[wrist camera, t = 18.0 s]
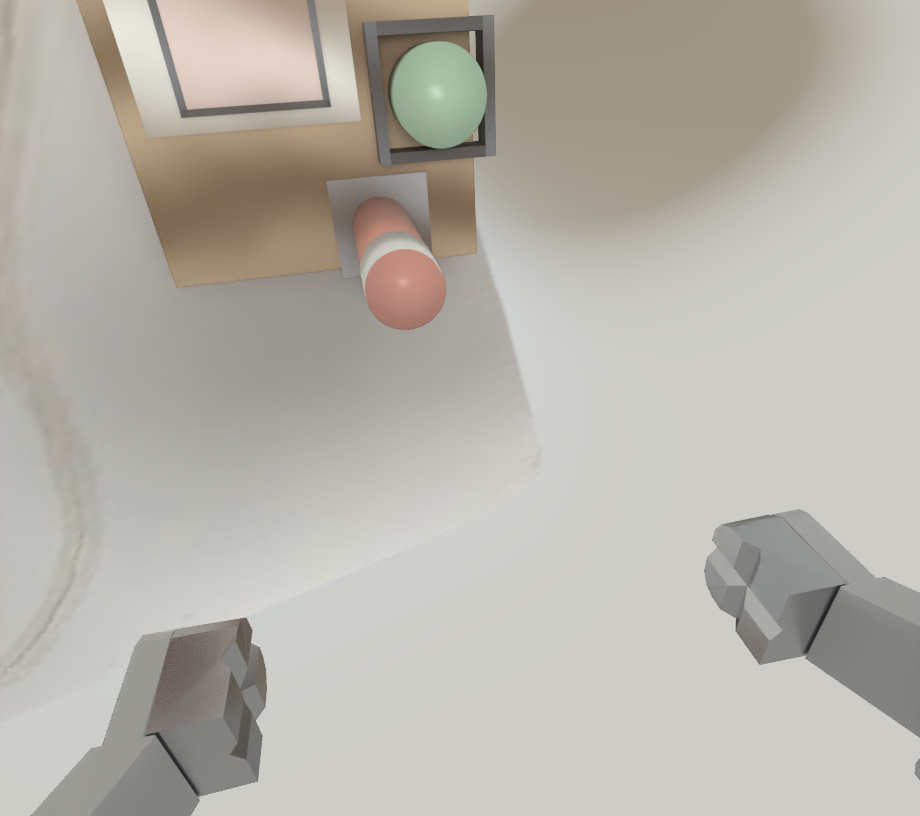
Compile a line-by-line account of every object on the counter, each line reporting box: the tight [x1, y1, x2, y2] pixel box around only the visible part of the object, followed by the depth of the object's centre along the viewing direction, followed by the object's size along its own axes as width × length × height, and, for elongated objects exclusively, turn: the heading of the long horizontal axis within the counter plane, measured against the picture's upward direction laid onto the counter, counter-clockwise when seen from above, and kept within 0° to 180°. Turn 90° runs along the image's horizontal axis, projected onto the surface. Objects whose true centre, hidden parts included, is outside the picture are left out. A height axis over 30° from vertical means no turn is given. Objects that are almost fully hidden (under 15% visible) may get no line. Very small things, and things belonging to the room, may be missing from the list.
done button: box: [388, 41, 487, 149], centre depth 25 cm, size 4×4×3 cm
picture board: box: [76, 0, 496, 288], centre depth 25 cm, size 20×17×3 cm
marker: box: [352, 196, 446, 330], centre depth 25 cm, size 3×3×10 cm
